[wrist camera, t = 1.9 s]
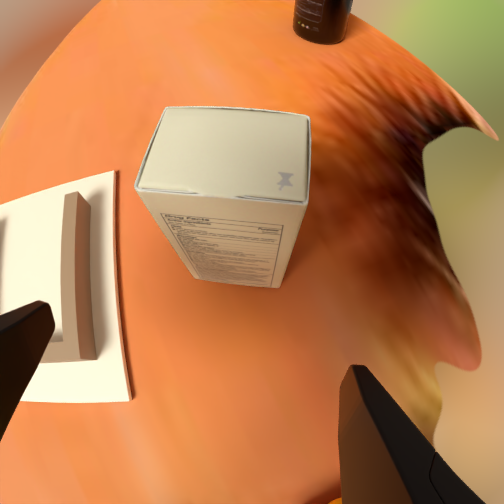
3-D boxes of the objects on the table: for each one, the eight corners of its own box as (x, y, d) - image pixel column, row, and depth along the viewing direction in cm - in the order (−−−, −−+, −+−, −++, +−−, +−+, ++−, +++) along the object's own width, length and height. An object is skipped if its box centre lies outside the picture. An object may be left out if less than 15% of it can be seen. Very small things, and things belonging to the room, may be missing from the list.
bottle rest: (132, 400, 19) (115, 405, 16) (-17, 396, 17) (-40, 396, 14) (116, 174, 24) (103, 153, 22) (-14, 214, 23) (-32, 200, 20)
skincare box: (285, 232, 23) (320, 113, 11) (280, 290, 22) (319, 208, 10) (198, 222, 23) (162, 100, 12) (187, 279, 22) (129, 188, 10)
